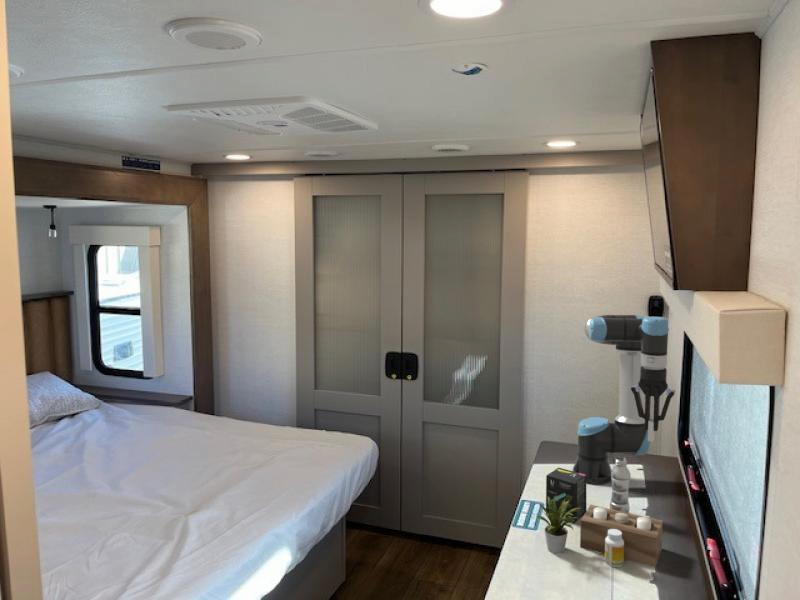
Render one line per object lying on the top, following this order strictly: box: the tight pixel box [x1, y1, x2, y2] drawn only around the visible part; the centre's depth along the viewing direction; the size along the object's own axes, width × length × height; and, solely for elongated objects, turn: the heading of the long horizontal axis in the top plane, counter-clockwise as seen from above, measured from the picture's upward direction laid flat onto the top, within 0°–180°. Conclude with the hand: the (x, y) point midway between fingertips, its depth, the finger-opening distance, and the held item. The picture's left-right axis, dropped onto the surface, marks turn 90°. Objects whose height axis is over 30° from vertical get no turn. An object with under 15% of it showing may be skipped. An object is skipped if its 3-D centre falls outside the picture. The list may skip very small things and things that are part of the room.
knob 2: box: [637, 516, 651, 531], centre depth 185 cm, size 4×4×10 cm
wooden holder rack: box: [579, 504, 664, 568], centre depth 189 cm, size 12×22×10 cm, turn 59°
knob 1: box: [593, 506, 607, 521], centre depth 192 cm, size 4×4×10 cm
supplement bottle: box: [604, 529, 625, 568], centre depth 181 cm, size 5×5×10 cm
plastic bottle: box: [609, 456, 632, 513], centre depth 209 cm, size 6×7×20 cm
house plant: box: [535, 497, 580, 555], centre depth 187 cm, size 14×14×16 cm
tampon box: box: [545, 467, 587, 525], centre depth 210 cm, size 11×9×15 cm
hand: (651, 440), depth 191 cm, fingers closed
